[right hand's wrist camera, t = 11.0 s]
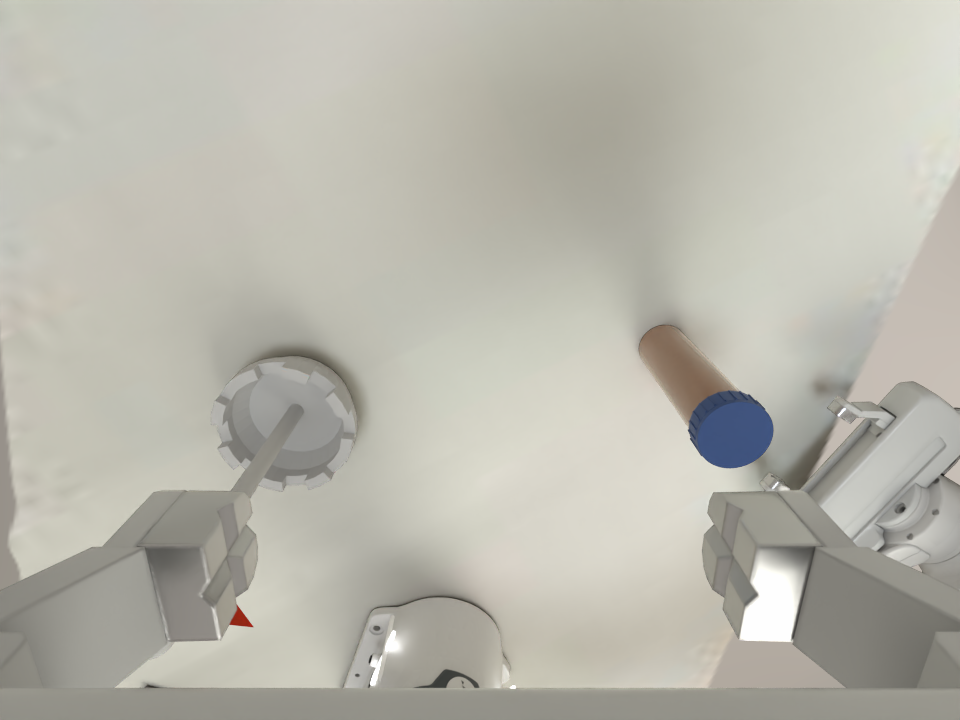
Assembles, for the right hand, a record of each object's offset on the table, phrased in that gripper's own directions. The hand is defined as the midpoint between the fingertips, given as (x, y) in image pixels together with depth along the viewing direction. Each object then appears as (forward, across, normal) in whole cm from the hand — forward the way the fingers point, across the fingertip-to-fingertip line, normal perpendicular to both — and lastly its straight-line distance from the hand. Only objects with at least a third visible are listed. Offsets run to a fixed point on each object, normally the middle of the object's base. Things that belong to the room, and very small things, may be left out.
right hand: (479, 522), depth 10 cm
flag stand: (+46, +18, +19) cm, 52 cm away
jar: (+45, -18, +12) cm, 50 cm away
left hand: (+40, -30, +20) cm, 54 cm away
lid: (+28, -18, +13) cm, 35 cm away
